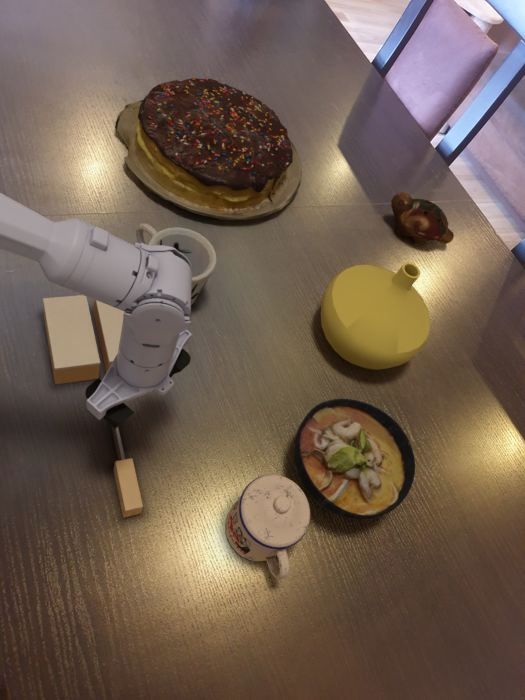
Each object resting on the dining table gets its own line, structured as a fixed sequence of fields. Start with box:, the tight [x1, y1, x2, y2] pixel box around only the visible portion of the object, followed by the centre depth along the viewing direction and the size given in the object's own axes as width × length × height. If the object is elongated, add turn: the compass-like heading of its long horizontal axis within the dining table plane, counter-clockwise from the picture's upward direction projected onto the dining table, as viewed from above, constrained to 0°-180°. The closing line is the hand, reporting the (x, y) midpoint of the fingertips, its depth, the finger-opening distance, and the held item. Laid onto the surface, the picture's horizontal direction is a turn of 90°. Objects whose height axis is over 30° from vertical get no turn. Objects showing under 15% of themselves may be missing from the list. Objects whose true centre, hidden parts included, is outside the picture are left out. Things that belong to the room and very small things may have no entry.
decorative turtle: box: [390, 192, 455, 246], centre depth 115 cm, size 10×15×8 cm, turn 79°
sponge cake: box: [42, 294, 125, 385], centre depth 82 cm, size 13×12×5 cm
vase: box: [320, 261, 431, 370], centre depth 91 cm, size 18×18×19 cm
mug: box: [135, 222, 217, 306], centre depth 89 cm, size 10×15×10 cm
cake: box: [114, 77, 303, 221], centre depth 109 cm, size 37×37×10 cm
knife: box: [111, 426, 144, 519], centre depth 75 cm, size 18×2×3 cm, turn 18°
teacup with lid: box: [225, 474, 311, 581], centre depth 71 cm, size 12×9×12 cm
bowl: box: [293, 398, 416, 521], centre depth 80 cm, size 17×17×10 cm
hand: (134, 401), depth 70 cm, fingers open, 7 cm apart
